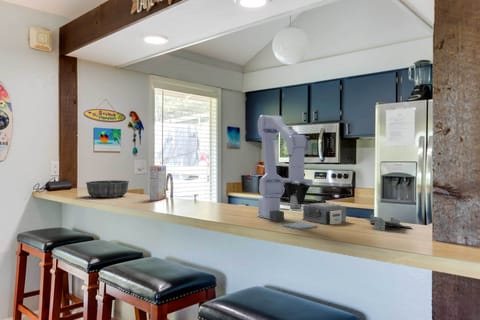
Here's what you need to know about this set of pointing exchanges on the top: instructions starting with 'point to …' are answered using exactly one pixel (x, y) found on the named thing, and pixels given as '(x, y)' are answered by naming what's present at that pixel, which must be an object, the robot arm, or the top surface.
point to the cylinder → (294, 202)
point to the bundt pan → (107, 188)
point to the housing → (322, 212)
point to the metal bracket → (384, 223)
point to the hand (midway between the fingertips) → (296, 203)
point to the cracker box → (157, 182)
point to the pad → (299, 225)
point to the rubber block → (276, 216)
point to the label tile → (335, 217)
